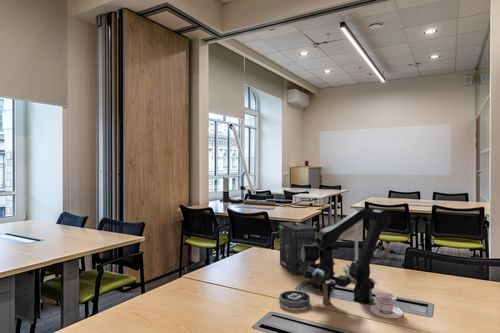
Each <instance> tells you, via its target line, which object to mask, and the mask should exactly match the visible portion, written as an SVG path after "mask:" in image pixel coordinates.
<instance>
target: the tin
mask: <svg viewBox="0 0 500 333" xmlns="http://www.w3.org/2000/svg"><path fill="white" fill-rule="evenodd" d="M278 298H279V299H278V301H279V305H280V306H281V307H282V308H284V309H286V310H289V311H291V310H292V311H301V310H306V309H307V308H309V307H310V305H311V303H310V302H311V297H310V295H309V294H308V293H307V292H304V291H300V290H286V291H282V292H281V293H279V297H278Z"/></svg>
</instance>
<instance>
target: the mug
mask: <svg viewBox="0 0 500 333" xmlns="http://www.w3.org/2000/svg"><path fill="white" fill-rule="evenodd" d="M317 267H318V263H316V264H310V265H308V269H310V268H311V269H315V270H316V269H317ZM309 282H310V286H311V288H314V289H320V287H319V285H318V284H317V283H316V282H314V281H313V277H312V278H311V279H309Z"/></svg>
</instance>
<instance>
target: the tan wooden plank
mask: <svg viewBox="0 0 500 333" xmlns="http://www.w3.org/2000/svg"><path fill="white" fill-rule="evenodd" d="M328 283H329V281H326V282H325V283H324V284H323V296H322V304H325V305H328V304H330V303H331V298H330V299H328V285H327V284H328Z"/></svg>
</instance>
